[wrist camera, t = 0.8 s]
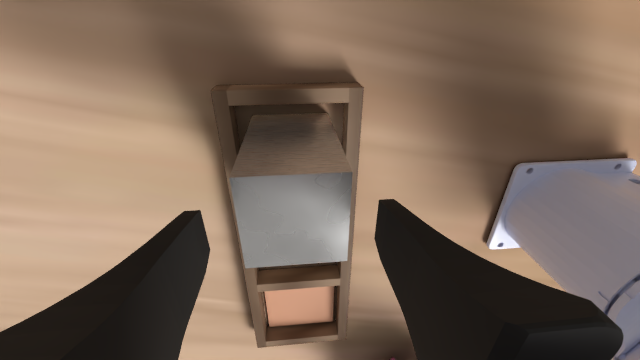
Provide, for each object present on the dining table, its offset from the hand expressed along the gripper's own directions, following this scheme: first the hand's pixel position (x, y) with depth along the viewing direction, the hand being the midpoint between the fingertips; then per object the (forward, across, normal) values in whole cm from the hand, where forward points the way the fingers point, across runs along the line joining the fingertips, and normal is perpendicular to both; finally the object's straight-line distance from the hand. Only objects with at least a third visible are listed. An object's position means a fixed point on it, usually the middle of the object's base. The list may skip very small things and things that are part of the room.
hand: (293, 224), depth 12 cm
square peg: (+8, 0, 0) cm, 8 cm away
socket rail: (+8, 0, +7) cm, 11 cm away
